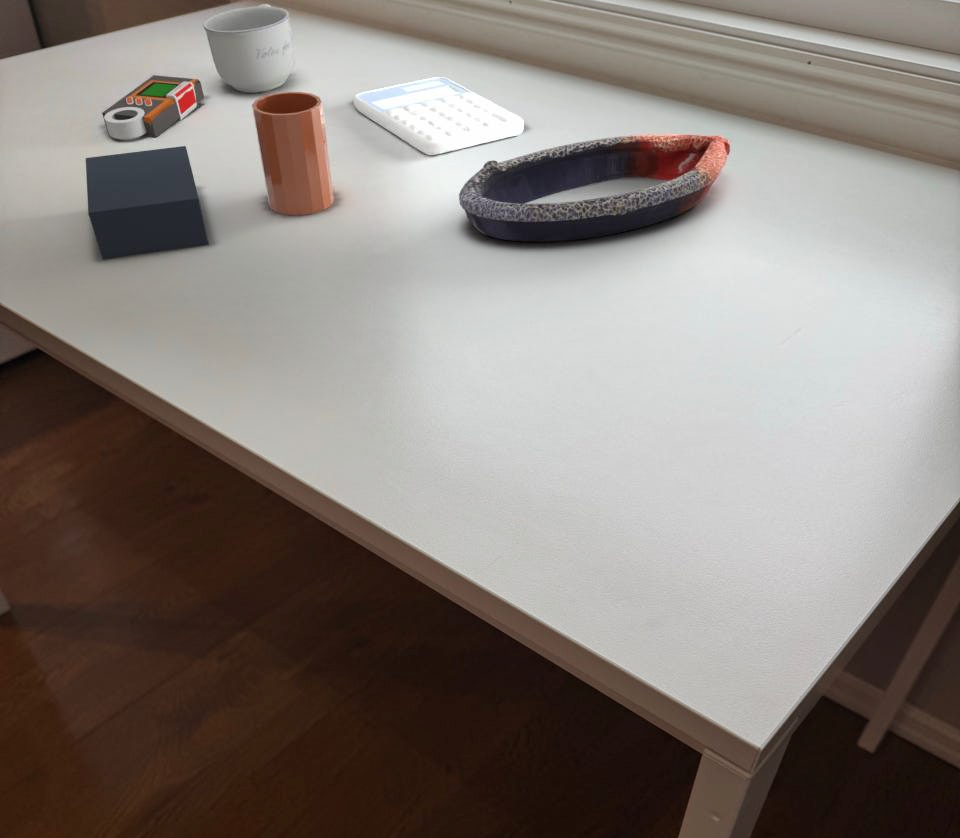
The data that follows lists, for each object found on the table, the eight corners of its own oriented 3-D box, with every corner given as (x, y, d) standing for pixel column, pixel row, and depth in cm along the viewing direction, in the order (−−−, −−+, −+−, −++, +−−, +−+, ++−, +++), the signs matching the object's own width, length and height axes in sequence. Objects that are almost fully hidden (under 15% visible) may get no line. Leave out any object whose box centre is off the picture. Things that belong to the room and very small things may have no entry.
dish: (432, 212, 99) (429, 161, 96) (685, 160, 108) (692, 111, 104) (497, 274, 89) (497, 220, 86) (770, 211, 98) (780, 159, 94)
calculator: (428, 158, 109) (428, 140, 108) (350, 108, 121) (349, 91, 120) (527, 134, 114) (527, 117, 112) (443, 88, 126) (442, 72, 124)
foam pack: (104, 265, 92) (88, 212, 88) (100, 207, 101) (85, 157, 98) (210, 250, 94) (198, 198, 90) (196, 195, 103) (185, 145, 100)
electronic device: (89, 117, 113) (154, 71, 122) (98, 143, 115) (160, 96, 125) (140, 122, 112) (201, 75, 121) (147, 149, 114) (207, 100, 123)
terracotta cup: (275, 225, 98) (257, 118, 90) (266, 199, 102) (248, 96, 95) (339, 216, 99) (326, 110, 92) (327, 191, 103) (314, 88, 96)
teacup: (273, 103, 123) (262, 30, 117) (200, 94, 125) (185, 23, 120) (323, 69, 132) (315, 1, 126) (253, 62, 134) (242, -5, 129)
